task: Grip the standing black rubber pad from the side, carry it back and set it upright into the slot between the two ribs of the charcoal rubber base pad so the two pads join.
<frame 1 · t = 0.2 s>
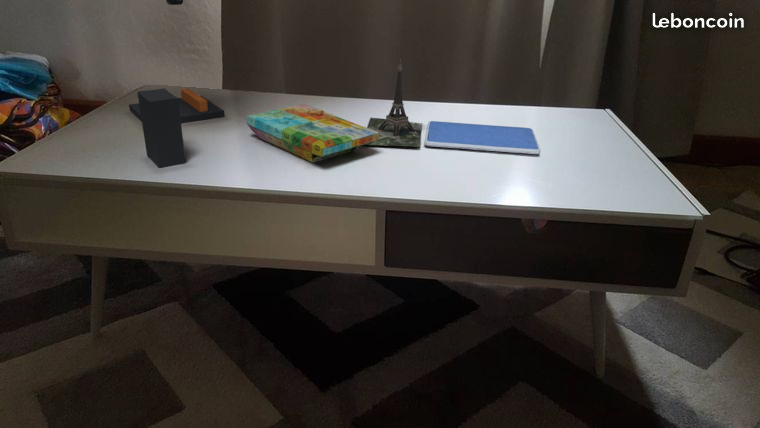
hand: (165, 0, 85), 22 cm above the table, tool pointing down, fingers open, 8 cm apart
eiffel tower figurine: (393, 135, 102), on the table
black pad: (166, 159, 87), on the table
base pad: (177, 113, 108), on the table
puzzle game: (311, 147, 95), on the table
tablet: (480, 142, 101), on the table
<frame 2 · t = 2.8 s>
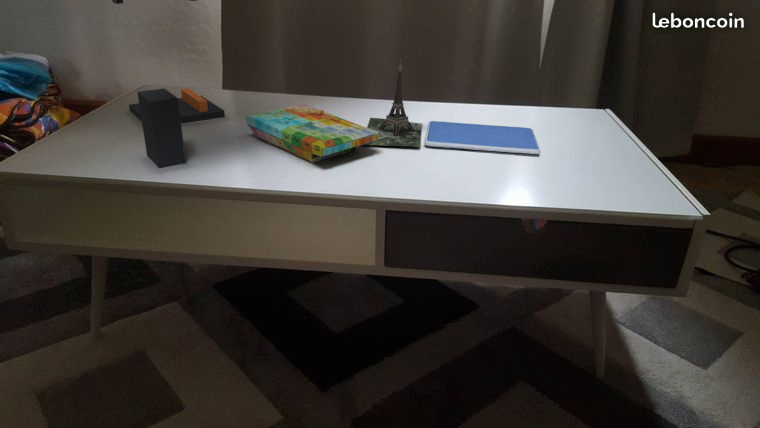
hand: (155, 1, 67), 24 cm above the table, tool pointing down, fingers open, 8 cm apart
nothing on the table moved.
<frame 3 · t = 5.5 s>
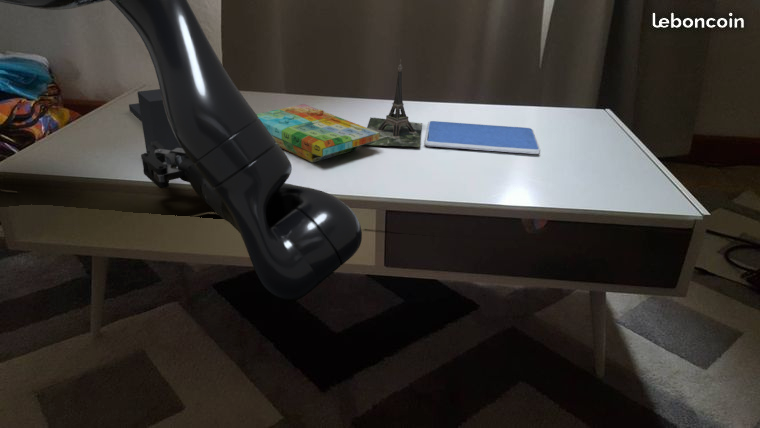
hand: (186, 142, 77), 6 cm above the table, tool horizontal, fingers open, 8 cm apart
nothing on the table moved.
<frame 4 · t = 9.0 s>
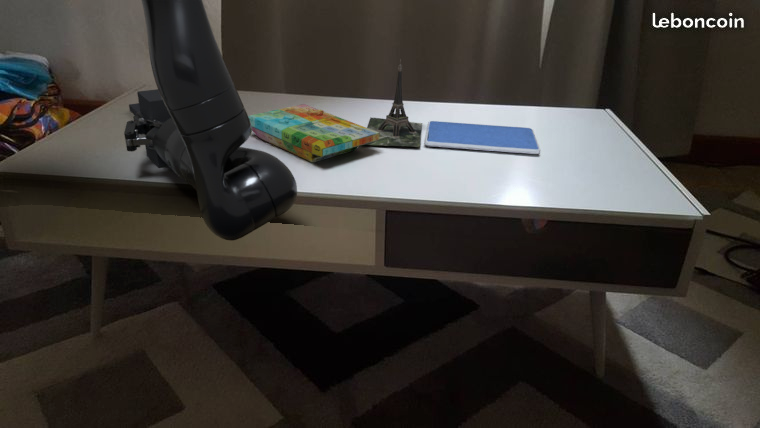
hand: (154, 116, 86), 6 cm above the table, tool horizontal, fingers closed on black pad, 4 cm apart
black pad: (165, 159, 87), on the table, touching gripper
everything else where it was.
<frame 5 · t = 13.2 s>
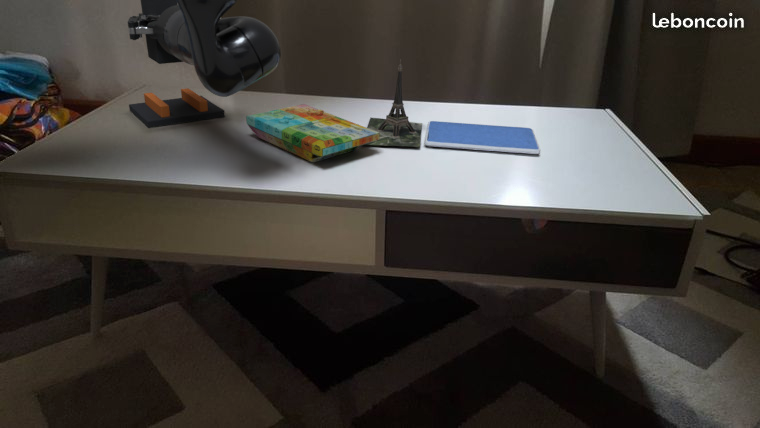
hand: (156, 19, 94), 18 cm above the table, tool horizontal, fingers closed on black pad, 4 cm apart
black pad: (166, 59, 95), point 12 cm above the table, touching gripper
everything else where it was.
when the fingers open (7 cm above the table, at t = 17.7 s): black pad stays where it is, resting on base pad.
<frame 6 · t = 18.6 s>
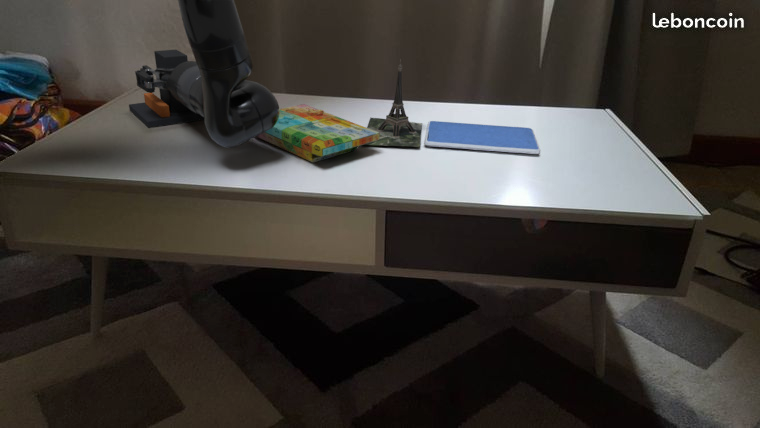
hand: (168, 68, 105), 8 cm above the table, tool horizontal, fingers open, 8 cm apart
black pad: (177, 107, 107), point 1 cm above the table, touching base pad
everything else where it was.
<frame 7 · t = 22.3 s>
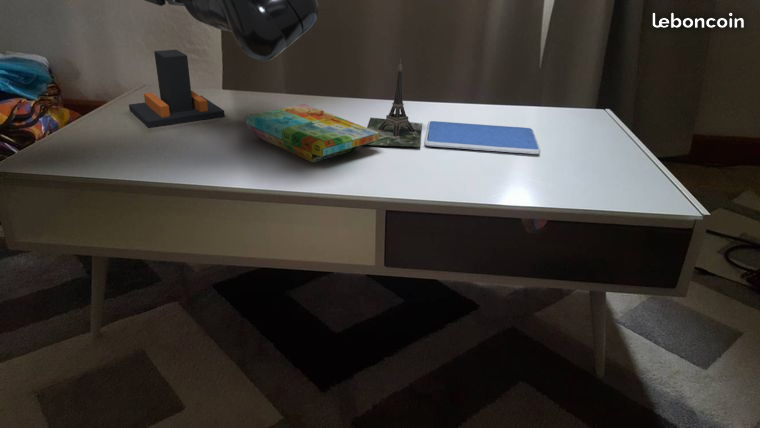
nothing on the table moved.
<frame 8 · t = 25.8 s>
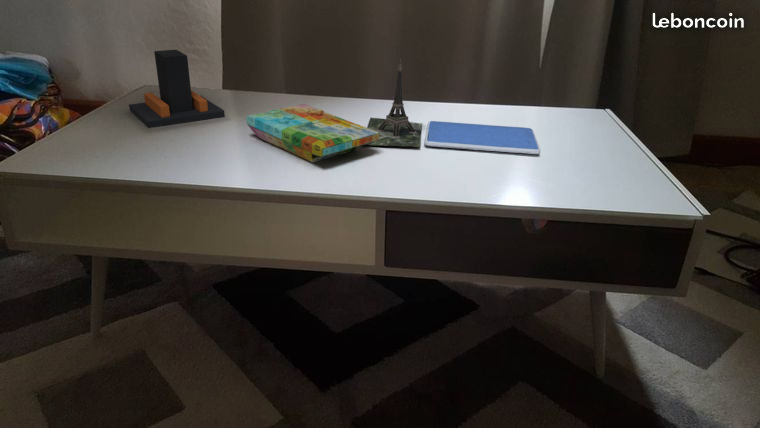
nothing on the table moved.
at the end: black pad 0.1 cm off-centre on the base pad, point 1.2 cm above the base pad's base; black pad tilted 0°; black pad touching base pad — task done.
